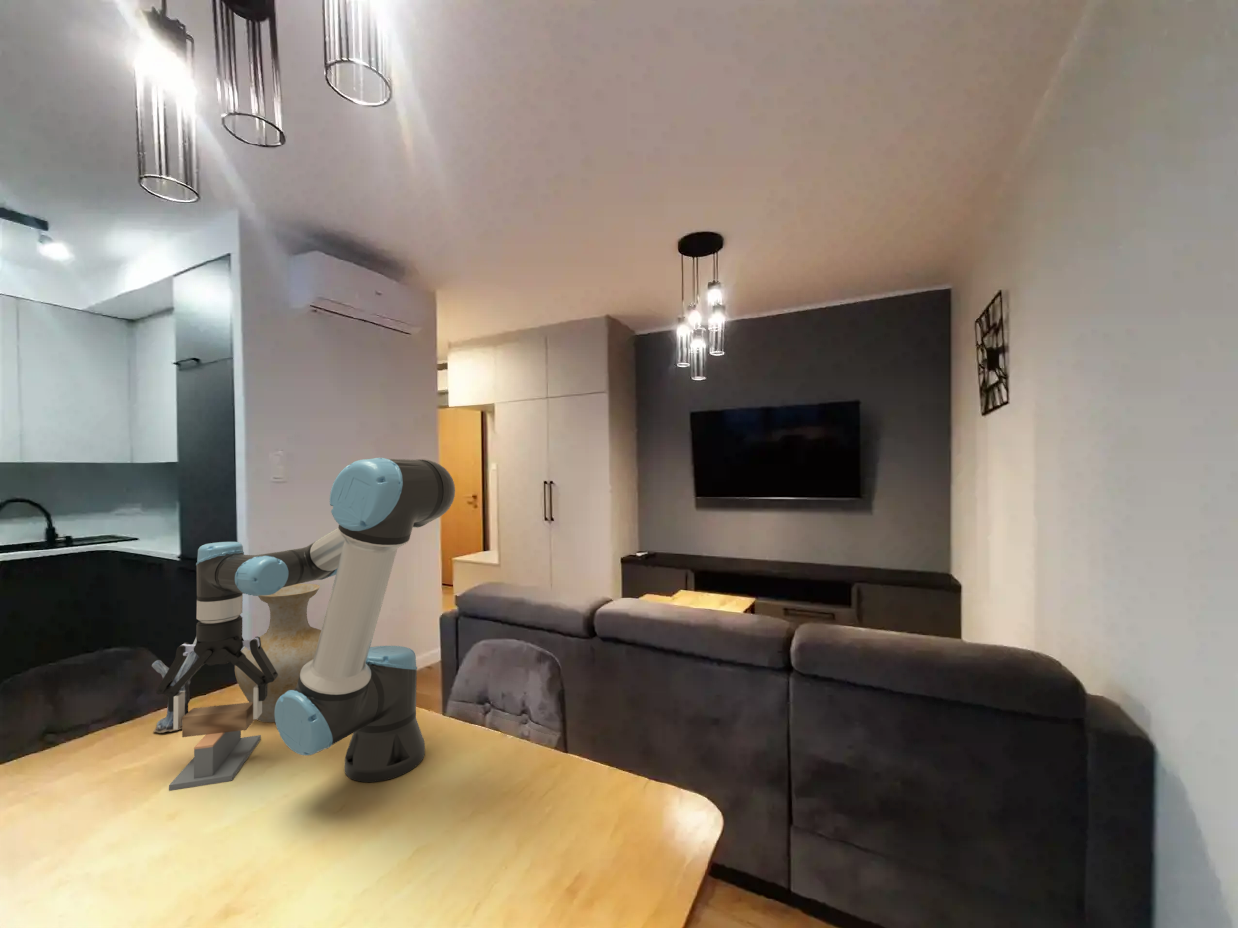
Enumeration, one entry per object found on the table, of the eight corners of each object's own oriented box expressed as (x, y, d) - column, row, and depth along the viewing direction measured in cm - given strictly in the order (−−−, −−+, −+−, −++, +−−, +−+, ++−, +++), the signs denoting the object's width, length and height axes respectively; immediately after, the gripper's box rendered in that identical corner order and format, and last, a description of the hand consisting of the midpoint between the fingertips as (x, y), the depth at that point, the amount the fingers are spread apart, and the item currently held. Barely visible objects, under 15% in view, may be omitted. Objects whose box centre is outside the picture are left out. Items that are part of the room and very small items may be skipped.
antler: (164, 737, 116) (165, 626, 116) (144, 730, 119) (145, 622, 119) (220, 714, 127) (221, 612, 127) (200, 709, 130) (201, 609, 130)
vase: (254, 695, 137) (254, 583, 138) (345, 685, 144) (345, 578, 144) (217, 736, 117) (218, 603, 117) (326, 722, 123) (327, 596, 123)
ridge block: (260, 739, 115) (261, 707, 115) (231, 780, 100) (232, 744, 100) (207, 746, 112) (207, 714, 112) (168, 790, 97) (169, 753, 97)
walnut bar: (254, 720, 110) (254, 701, 110) (246, 729, 106) (246, 710, 106) (192, 727, 107) (193, 708, 107) (182, 737, 103) (182, 717, 103)
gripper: (294, 608, 114) (293, 704, 114) (155, 618, 106) (154, 721, 106) (283, 617, 107) (283, 720, 107) (134, 628, 99) (133, 739, 99)
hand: (219, 721), depth 106 cm, fingers open, 13 cm apart
